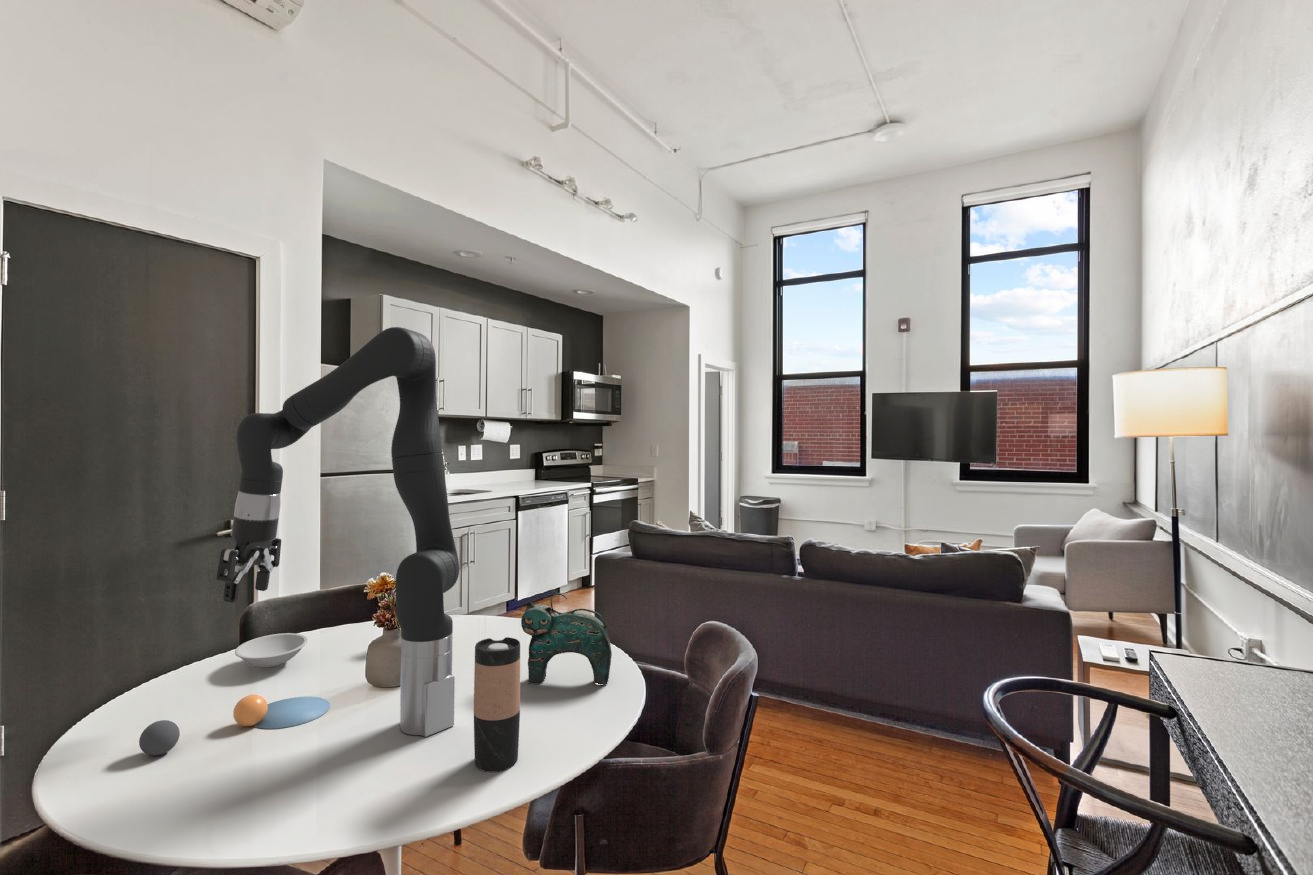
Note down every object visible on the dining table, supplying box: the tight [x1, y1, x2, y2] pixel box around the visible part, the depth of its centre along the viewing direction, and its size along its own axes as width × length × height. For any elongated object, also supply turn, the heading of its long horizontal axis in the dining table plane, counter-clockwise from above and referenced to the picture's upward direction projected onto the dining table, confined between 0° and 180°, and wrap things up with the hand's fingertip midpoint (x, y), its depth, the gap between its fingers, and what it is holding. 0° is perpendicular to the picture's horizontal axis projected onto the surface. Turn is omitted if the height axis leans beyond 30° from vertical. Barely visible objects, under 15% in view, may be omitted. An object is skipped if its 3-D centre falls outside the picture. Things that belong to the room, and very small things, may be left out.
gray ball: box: [138, 719, 181, 757], centre depth 110 cm, size 6×6×6 cm
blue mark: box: [252, 696, 331, 730], centre depth 127 cm, size 14×14×1 cm
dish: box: [234, 632, 309, 668], centre depth 151 cm, size 18×14×5 cm
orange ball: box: [232, 694, 268, 727], centre depth 122 cm, size 6×6×6 cm
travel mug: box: [473, 636, 521, 773], centre depth 110 cm, size 8×8×20 cm
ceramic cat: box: [520, 592, 613, 684], centre depth 145 cm, size 20×6×20 cm, turn 87°
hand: (246, 595), depth 127 cm, fingers open, 8 cm apart
